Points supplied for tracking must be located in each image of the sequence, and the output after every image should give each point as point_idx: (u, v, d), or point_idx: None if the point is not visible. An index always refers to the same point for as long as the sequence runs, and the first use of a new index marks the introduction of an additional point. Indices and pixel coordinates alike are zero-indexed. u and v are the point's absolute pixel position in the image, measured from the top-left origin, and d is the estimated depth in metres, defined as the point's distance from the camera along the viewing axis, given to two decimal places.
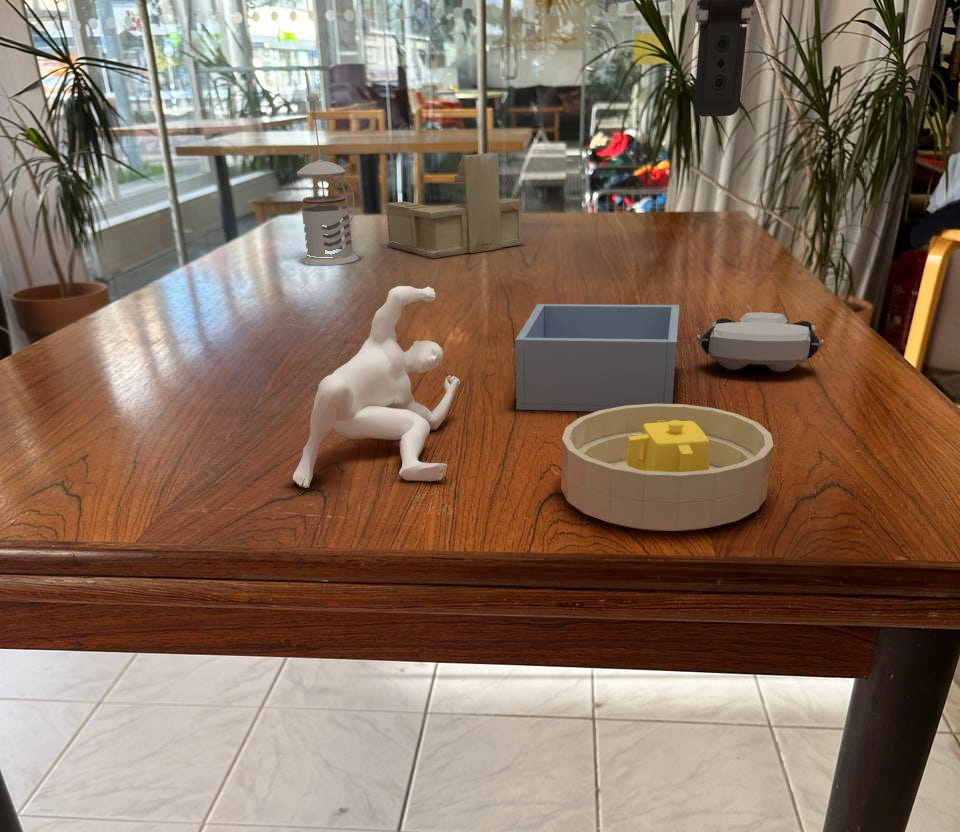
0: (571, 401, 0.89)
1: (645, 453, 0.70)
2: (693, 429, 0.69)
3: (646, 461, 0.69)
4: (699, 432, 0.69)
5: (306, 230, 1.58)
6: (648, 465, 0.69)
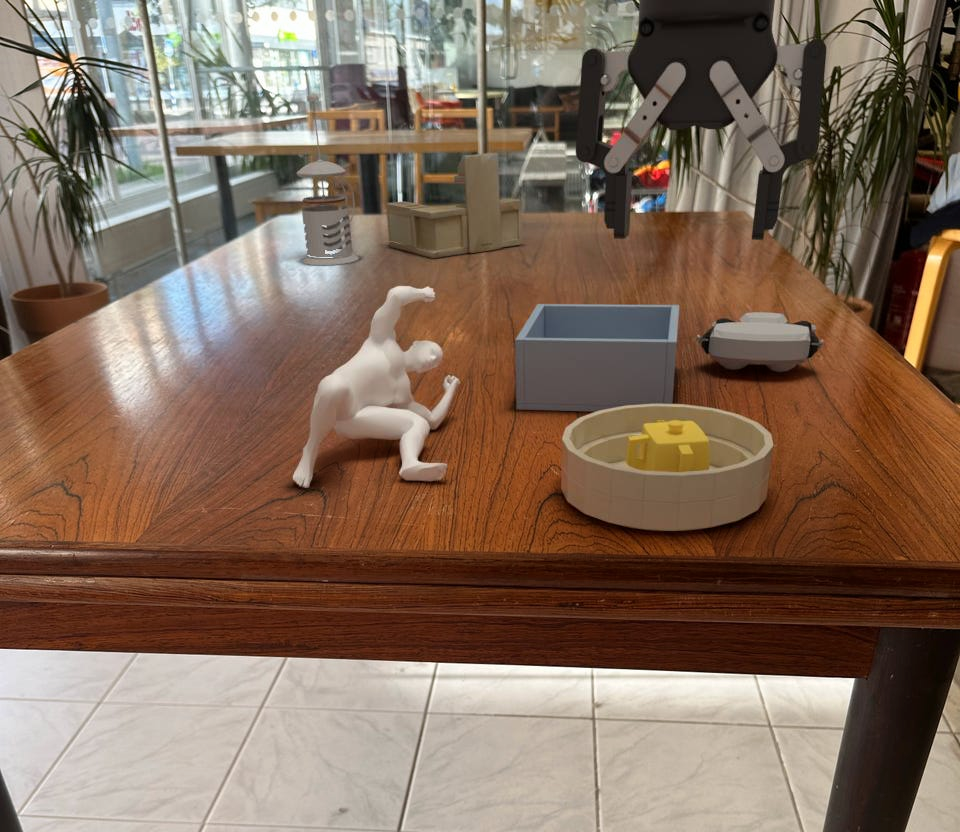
0: (571, 401, 0.89)
1: (645, 453, 0.70)
2: (693, 429, 0.69)
3: (646, 461, 0.69)
4: (699, 432, 0.69)
5: (306, 230, 1.58)
6: (648, 465, 0.69)
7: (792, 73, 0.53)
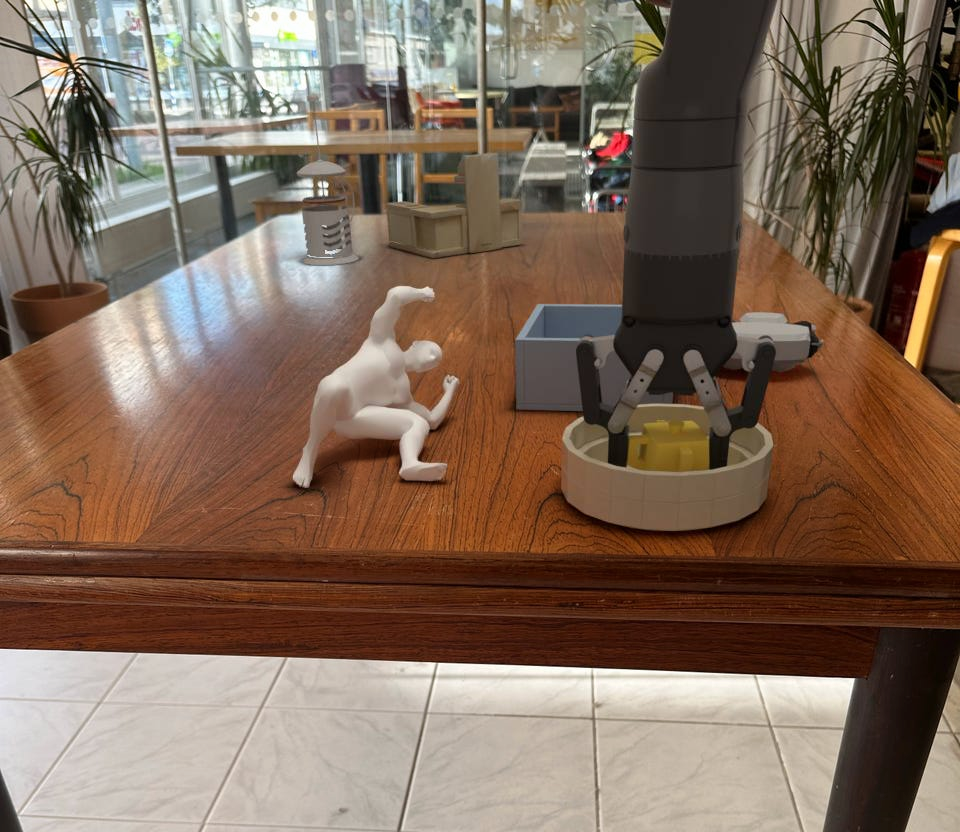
0: (571, 401, 0.89)
1: (645, 453, 0.70)
2: (693, 429, 0.69)
3: (646, 461, 0.69)
4: (699, 432, 0.69)
5: (306, 230, 1.58)
6: (648, 465, 0.69)
7: (746, 361, 0.65)
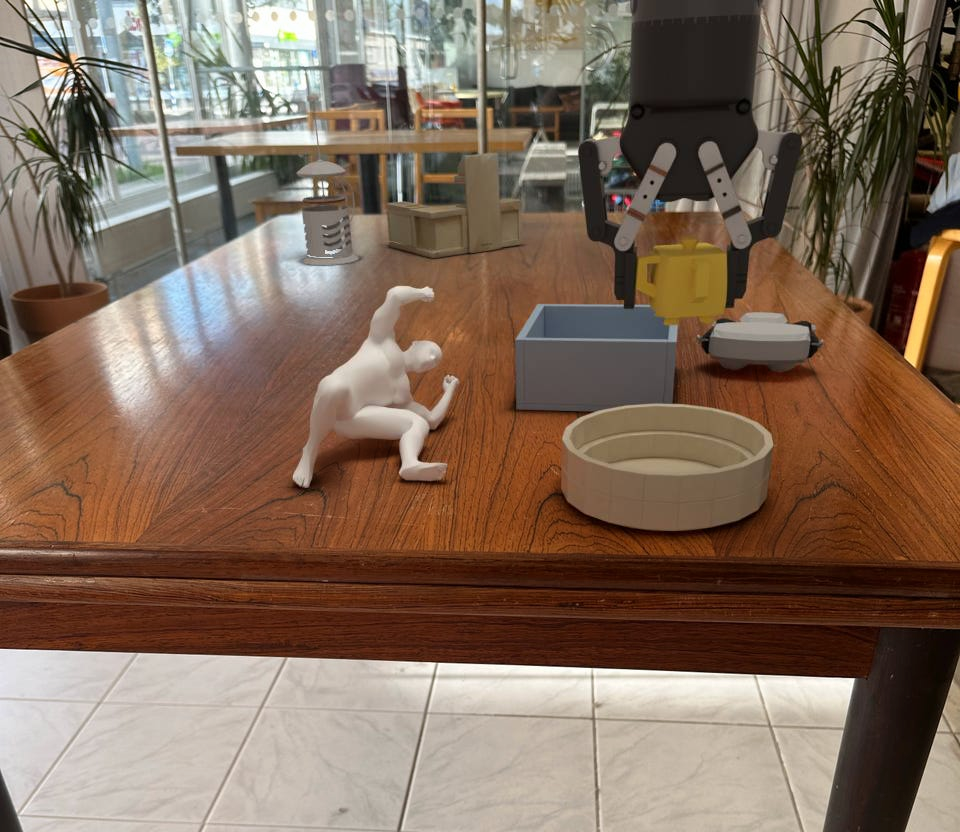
0: (571, 401, 0.89)
1: (656, 275, 0.63)
2: (708, 247, 0.63)
3: (657, 283, 0.63)
4: (715, 249, 0.62)
5: (306, 230, 1.58)
6: (659, 286, 0.62)
7: (768, 157, 0.58)
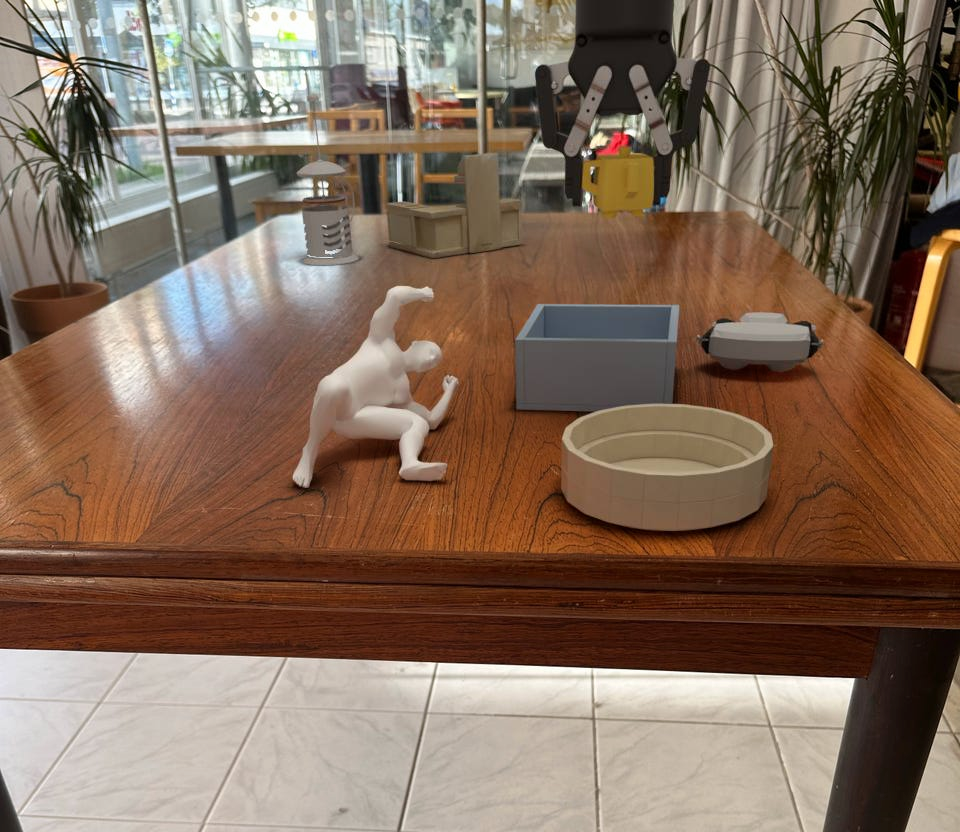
0: (571, 401, 0.89)
1: (598, 177, 0.78)
2: (640, 155, 0.78)
3: (599, 183, 0.78)
4: (645, 156, 0.77)
5: (306, 230, 1.58)
6: (600, 185, 0.78)
7: (684, 80, 0.74)
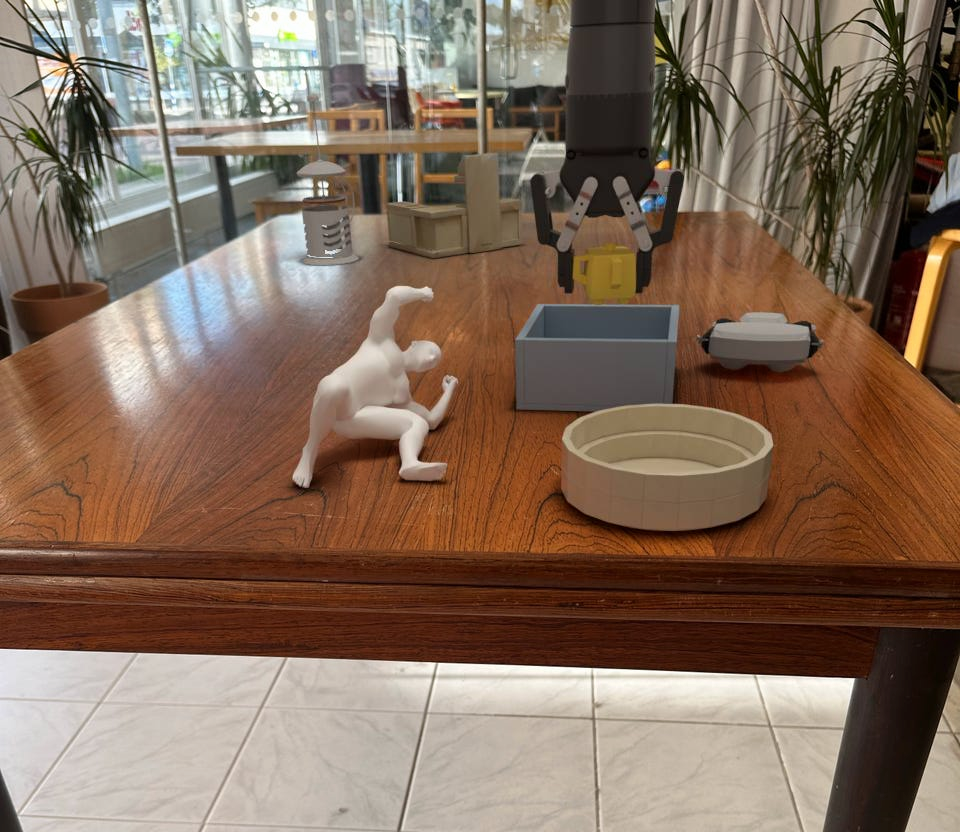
0: (571, 401, 0.89)
1: (586, 269, 0.88)
2: (624, 249, 0.88)
3: (587, 274, 0.88)
4: (628, 250, 0.87)
5: (306, 230, 1.58)
6: (588, 277, 0.88)
7: (662, 188, 0.84)
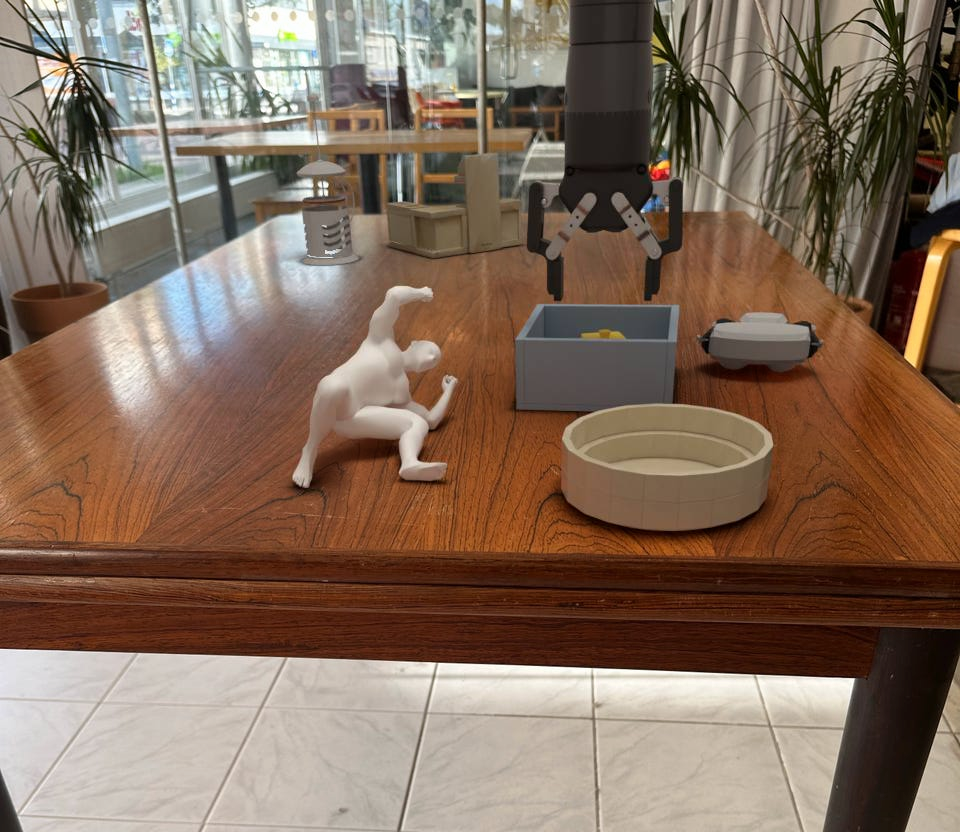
0: (571, 401, 0.89)
1: None
2: (617, 336, 0.92)
3: None
4: (622, 338, 0.92)
5: (306, 230, 1.58)
6: None
7: (663, 198, 0.84)
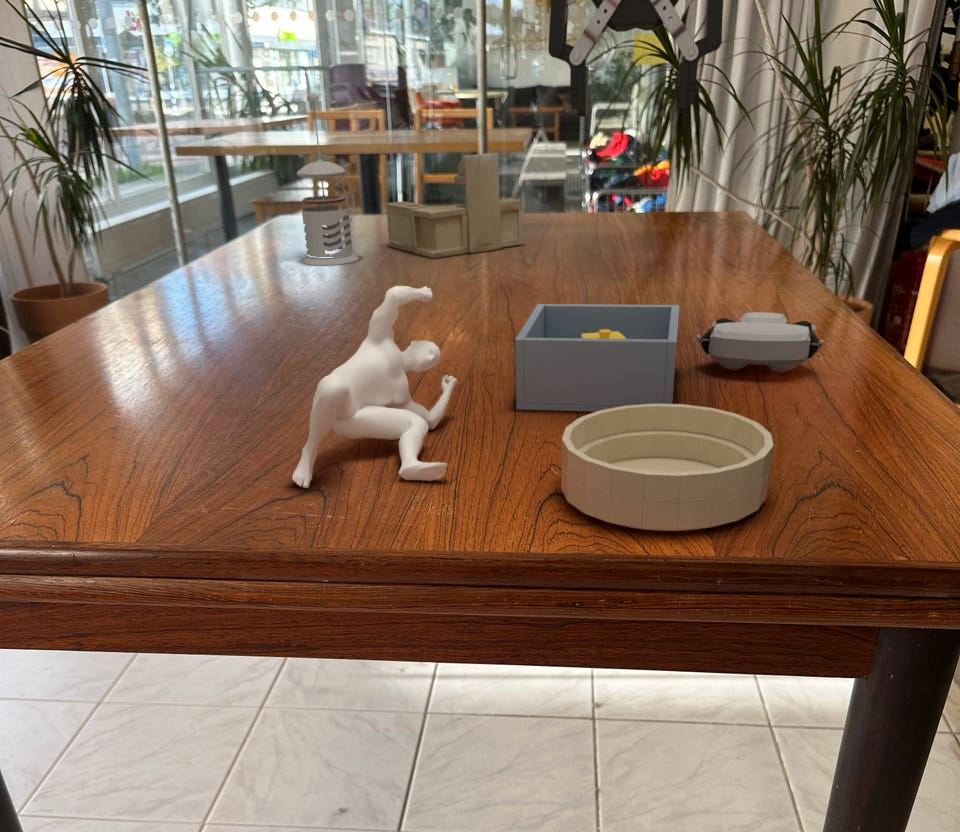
0: (571, 401, 0.89)
1: None
2: (617, 336, 0.92)
3: None
4: (622, 338, 0.92)
5: (306, 230, 1.58)
6: None
7: None
